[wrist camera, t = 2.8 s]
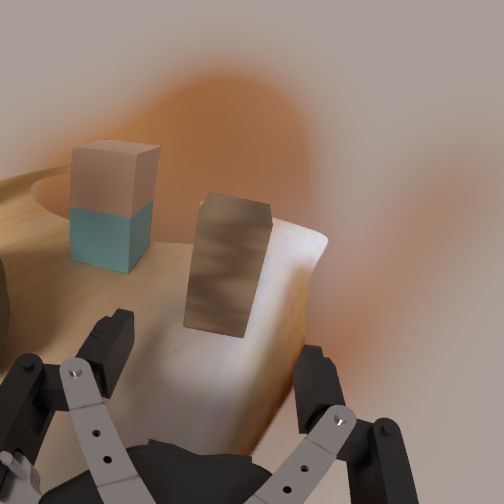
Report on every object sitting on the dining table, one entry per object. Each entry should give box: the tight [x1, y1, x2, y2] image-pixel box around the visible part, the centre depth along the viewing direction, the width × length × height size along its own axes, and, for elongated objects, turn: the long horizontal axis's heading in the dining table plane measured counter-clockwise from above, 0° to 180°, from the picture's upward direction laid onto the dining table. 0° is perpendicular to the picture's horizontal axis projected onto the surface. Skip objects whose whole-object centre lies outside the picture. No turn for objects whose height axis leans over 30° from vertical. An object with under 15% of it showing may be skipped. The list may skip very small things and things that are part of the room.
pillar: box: [183, 192, 273, 338], centre depth 25 cm, size 5×5×10 cm
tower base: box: [70, 199, 153, 274], centre depth 31 cm, size 7×7×6 cm
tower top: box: [70, 139, 161, 218], centre depth 28 cm, size 7×7×6 cm
